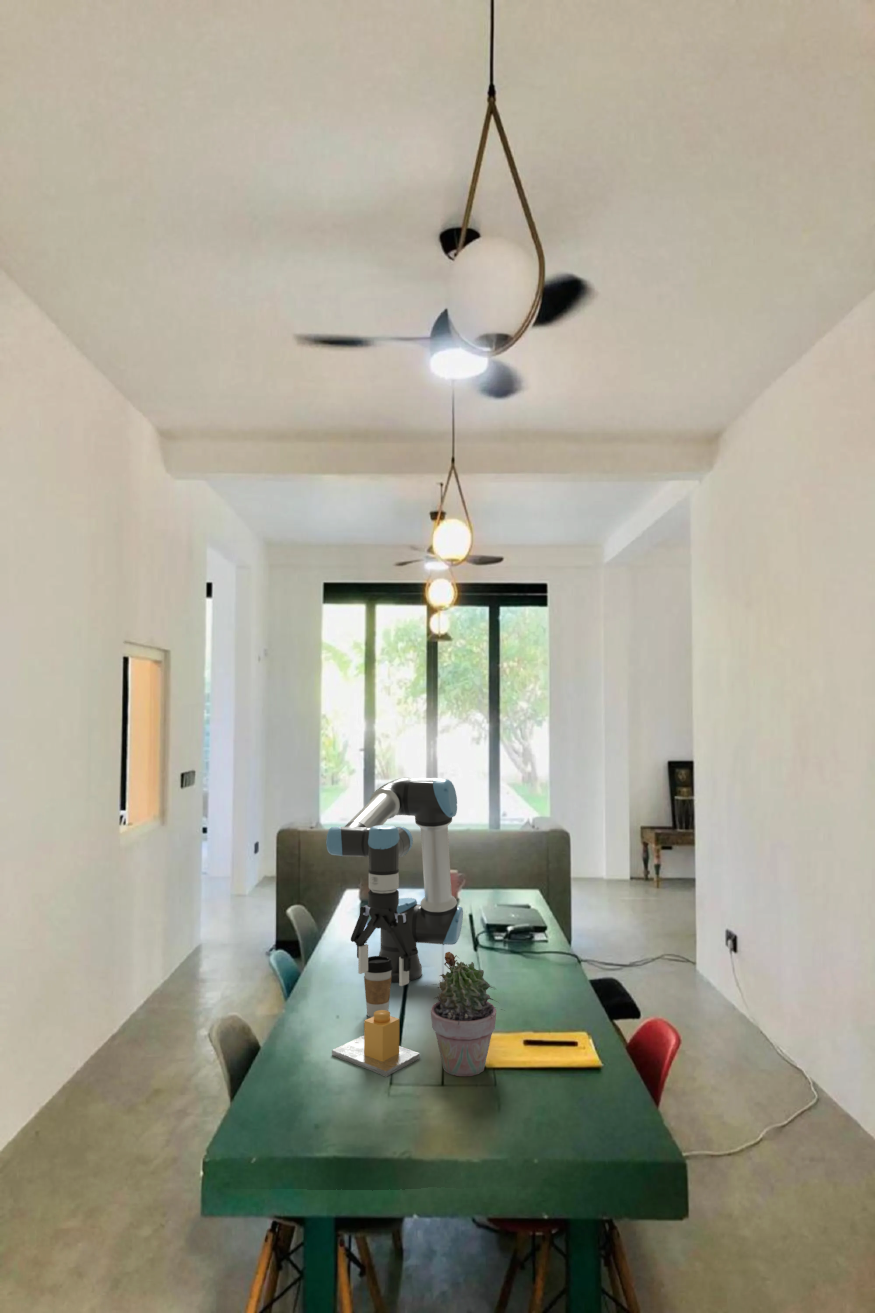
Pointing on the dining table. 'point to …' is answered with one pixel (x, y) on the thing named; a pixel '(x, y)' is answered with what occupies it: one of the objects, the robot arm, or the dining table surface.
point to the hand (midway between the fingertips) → (383, 978)
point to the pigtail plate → (355, 1055)
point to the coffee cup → (378, 984)
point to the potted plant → (463, 1019)
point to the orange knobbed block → (381, 1036)
